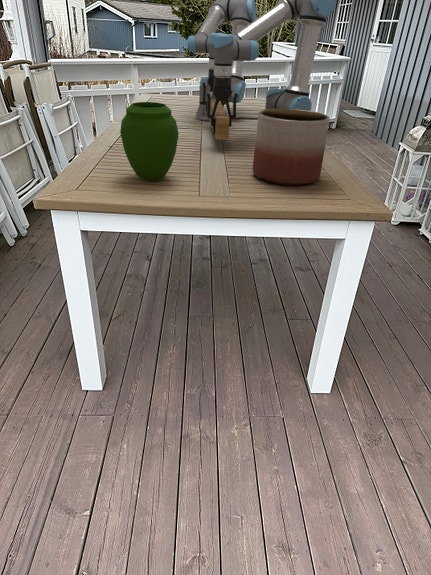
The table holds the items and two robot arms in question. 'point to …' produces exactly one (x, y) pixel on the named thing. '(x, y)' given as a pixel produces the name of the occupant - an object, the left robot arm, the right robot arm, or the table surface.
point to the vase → (149, 139)
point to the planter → (290, 146)
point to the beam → (220, 121)
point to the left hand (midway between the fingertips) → (214, 117)
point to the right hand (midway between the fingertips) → (220, 133)
